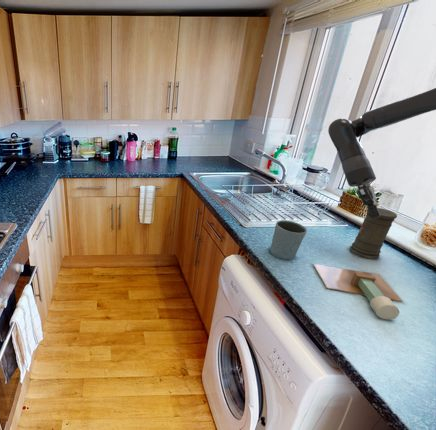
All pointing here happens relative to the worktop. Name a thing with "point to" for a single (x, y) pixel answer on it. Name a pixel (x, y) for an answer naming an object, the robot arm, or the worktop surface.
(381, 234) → the container
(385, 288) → the brown flat board
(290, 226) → the grey cup
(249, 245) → the worktop surface
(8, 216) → the worktop surface
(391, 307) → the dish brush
